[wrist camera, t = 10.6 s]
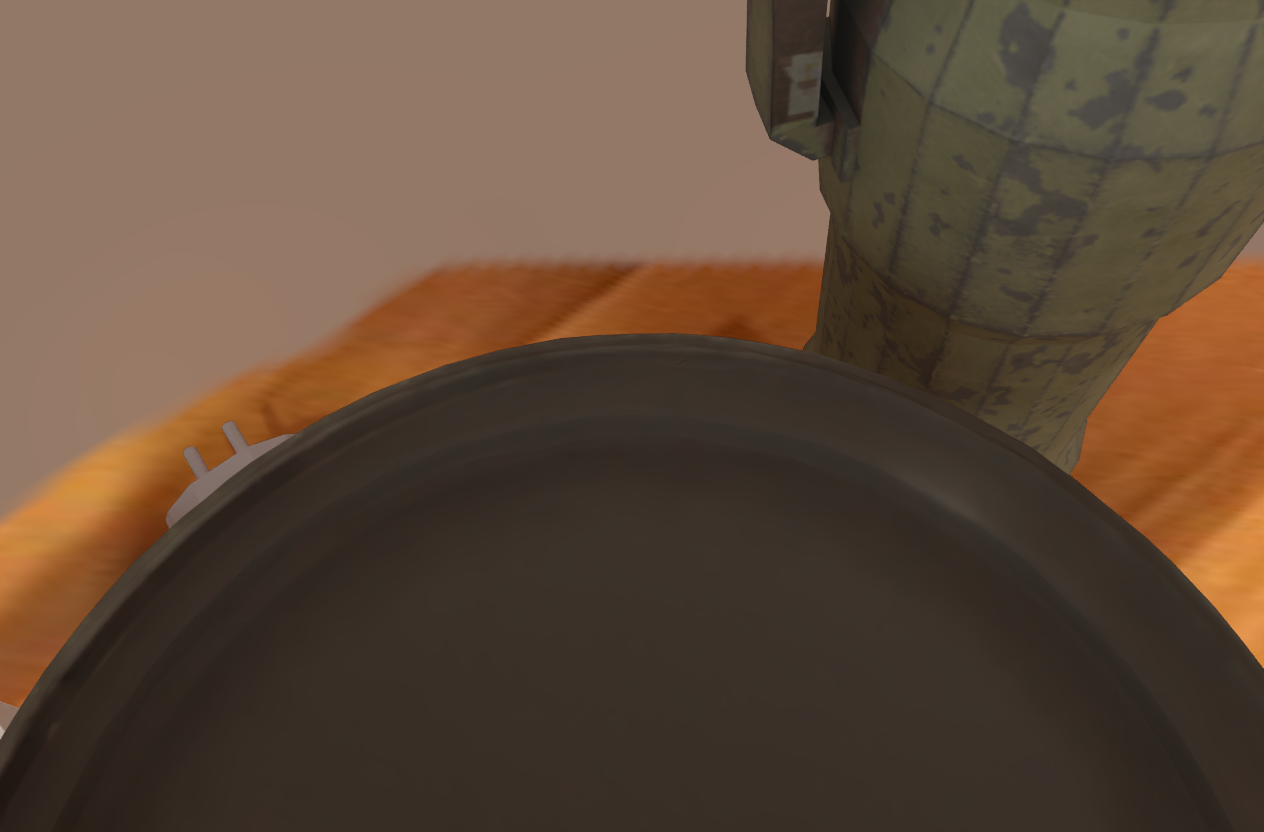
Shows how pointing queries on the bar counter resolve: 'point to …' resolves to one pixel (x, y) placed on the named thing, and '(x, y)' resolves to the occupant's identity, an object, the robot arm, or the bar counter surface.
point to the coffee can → (646, 624)
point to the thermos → (1016, 184)
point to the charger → (217, 470)
